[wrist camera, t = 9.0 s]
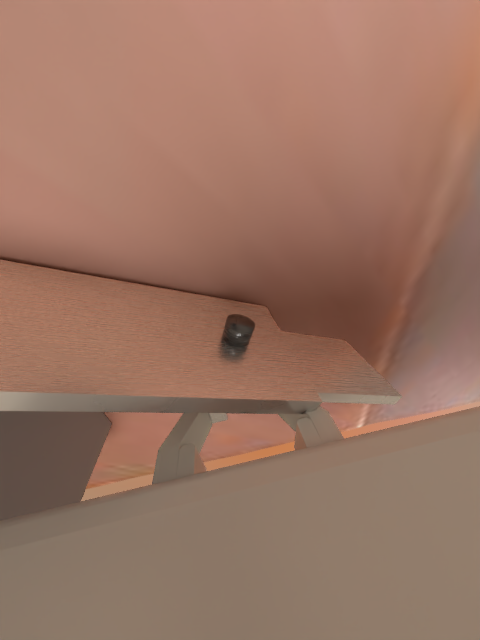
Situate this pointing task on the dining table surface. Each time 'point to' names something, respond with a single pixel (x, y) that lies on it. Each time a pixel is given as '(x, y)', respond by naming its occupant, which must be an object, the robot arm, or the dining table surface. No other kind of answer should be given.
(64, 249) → the dining table surface
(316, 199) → the dining table surface
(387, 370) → the dining table surface
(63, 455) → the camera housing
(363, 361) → the side door
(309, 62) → the dining table surface
